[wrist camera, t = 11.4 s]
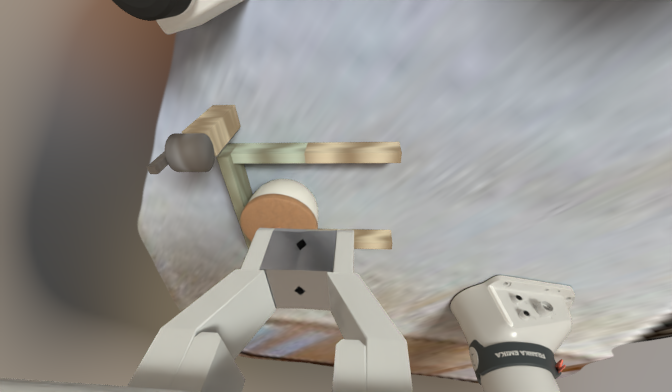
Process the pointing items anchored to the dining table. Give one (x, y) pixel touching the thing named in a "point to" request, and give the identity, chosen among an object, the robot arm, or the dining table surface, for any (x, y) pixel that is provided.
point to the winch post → (199, 141)
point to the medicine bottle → (176, 11)
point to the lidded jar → (280, 208)
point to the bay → (337, 152)
